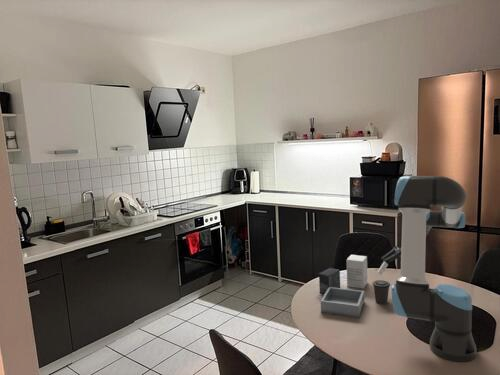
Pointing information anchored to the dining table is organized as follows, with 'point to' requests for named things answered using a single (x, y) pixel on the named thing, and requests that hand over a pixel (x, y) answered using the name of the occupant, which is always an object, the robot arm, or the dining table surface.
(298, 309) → the dining table surface
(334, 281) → the small box
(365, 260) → the supplement box
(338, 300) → the bin
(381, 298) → the coffee cup
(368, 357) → the dining table surface
